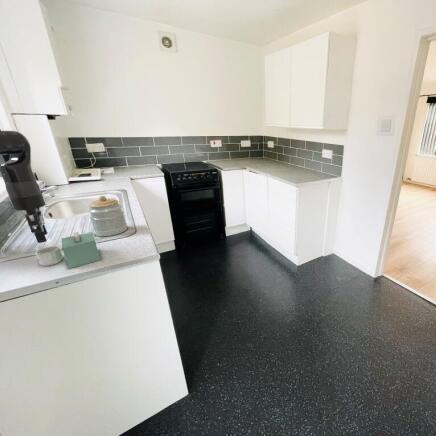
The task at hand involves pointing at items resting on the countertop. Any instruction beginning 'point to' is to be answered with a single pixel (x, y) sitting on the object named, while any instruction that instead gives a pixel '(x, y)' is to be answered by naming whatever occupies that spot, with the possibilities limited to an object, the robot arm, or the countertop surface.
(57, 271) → the countertop surface
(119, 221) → the jar
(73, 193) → the countertop surface
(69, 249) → the tissue box
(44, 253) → the bowl
